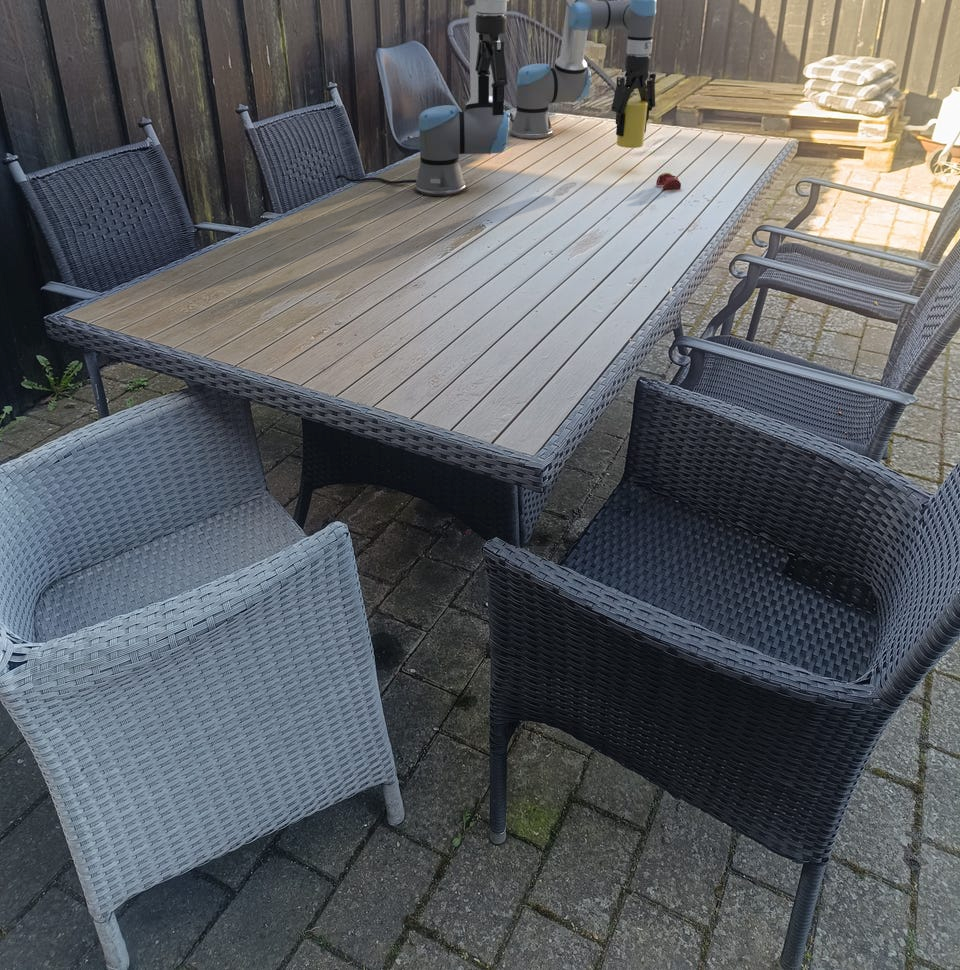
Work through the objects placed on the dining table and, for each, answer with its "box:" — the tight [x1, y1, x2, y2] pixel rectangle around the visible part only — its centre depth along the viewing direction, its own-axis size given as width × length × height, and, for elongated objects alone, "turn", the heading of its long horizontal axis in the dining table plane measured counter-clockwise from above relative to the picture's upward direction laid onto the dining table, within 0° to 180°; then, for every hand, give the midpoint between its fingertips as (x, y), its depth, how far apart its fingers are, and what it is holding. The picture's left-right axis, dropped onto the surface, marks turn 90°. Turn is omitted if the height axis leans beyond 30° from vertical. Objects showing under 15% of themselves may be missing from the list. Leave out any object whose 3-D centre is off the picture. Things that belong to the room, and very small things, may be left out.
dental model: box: [655, 172, 682, 192], centre depth 259 cm, size 6×4×8 cm
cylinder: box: [616, 98, 648, 149], centre depth 266 cm, size 8×8×13 cm
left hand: (490, 109), depth 214 cm, fingers open, 13 cm apart
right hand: (630, 133), depth 268 cm, fingers closed on cylinder, 8 cm apart
